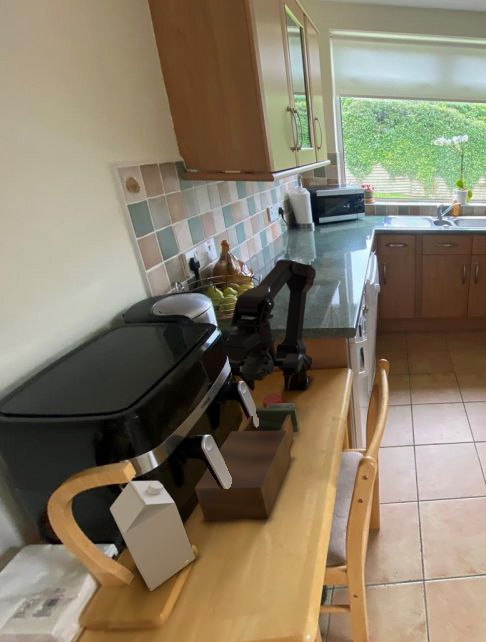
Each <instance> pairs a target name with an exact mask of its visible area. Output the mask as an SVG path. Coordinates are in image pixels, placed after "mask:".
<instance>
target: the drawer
mask: <svg viewBox="0 0 486 642" xmlns="http://www.w3.org/2000/svg"><path fill="white" fill-rule="evenodd" d="M255 408H256V414H257V417H258V418H259V426H258V427H257V428H256V427H254V426H253V425H252V423H253V416H251V417H249V416H248V418H247V419H246V421H245V422H244V424H243V426H242V428H241V429H240V431H286V432H287V438H288V443H289V447H290V446H291V444H292V441H293V439H294V436H295V434H294V433H296V434H297V433H299V432H300V429H301V428H300V423H299V416H298V410H297V407H295V403H294V402H287V403H286V402H285V403H283V402H282V403H268V404H267V406H266V408H263V407H255Z"/></svg>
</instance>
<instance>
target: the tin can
mask: <svg viewBox="0 0 486 642" xmlns="http://www.w3.org/2000/svg"><path fill="white" fill-rule="evenodd" d="M261 403H262V408H266V406H267V404H268V403H283V397H282V394H281V393H278V392H272V393H268V394H266V395H264V396H263V398H262V399H261Z"/></svg>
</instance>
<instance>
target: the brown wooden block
mask: <svg viewBox="0 0 486 642" xmlns="http://www.w3.org/2000/svg"><path fill="white" fill-rule="evenodd" d="M219 450H220V452H221V454H222V456H223V458H224V461H225V464H226V466H227V468H228V471H229V473H230V475H231V477H232V484H231V487H230V488H229V489H221V488H220V487H219V486H218V484H217V482H216V480H215V479H214V477H213V476H212V474H211V473H210V471H209V469H208V467H207V468H206V470H205V471H204V473H203V474H202V476H201V478H200V479H199V481H198V482H197V484H196V486H195V487H194V490H195V494H196V498H197V500H198V503H199V506H200V510H201V512H202V515H203V518H204V521H237V520H239V521H241V520H242V521H243V520H268V519H269V518H270V516H271V512H272V510H273V507H274V504H275V503H276V500H277V497H278V495H279V493H280V490H281V487H282V485H283V482H284V479H285V478H286V474H287V473H288V470H289V467H290V464H291V462H292V456H291V449H290V446H289V443H288V438H287V432H286V431H241V430H236V431H234V430H233V431H232V430H231V431H230V432H229V434H228V436H227V437H226V439H225V440H224V442H223V444H222V445H221V446H220V448H219Z"/></svg>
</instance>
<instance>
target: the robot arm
mask: <svg viewBox="0 0 486 642" xmlns="http://www.w3.org/2000/svg"><path fill="white" fill-rule="evenodd" d="M316 275H317V271H316V269H315V268H314V267H313V265H312V264H311V263H302V262H299V261H296V260H294V259H284V258H281V259H278V260H277V261H276V263H275V265H274V266H273V268H272V269H271V270H270V271H269V273H268V274H266V276H265V277H264V278H263V279H262V280H261V281H260V282H259V284H258V285H256V286H254V287H251V288H248V289H246V290H245V291H243V292H242V293H240V295H239V296H238V297H237V299H236V300H235V304H234V308H233V313H232V318H231V323H230V326H231V327H236V328H235V329H234V330H233V331H231V332H229V333H227V339H226V340H225V341H224V342H223V345H222V352H223V353H224V355H225V356H226V357H227V358H229V359H228V360H229V364H230V366H231V373H232V375H231V376H232V377H239V378H241V380H243V382H244V383H245V384H246V385H247V387H248V388H249V389H250V391H252V392H253V391H254V390H255V389H256V388H255V385H256V384H255V381H263V380H264V379H266V377H267V376H268V375H272V374H273V372H274V369H275V367H278V369H279V370H280V371H282V376H283V379H284V382H283V383H284V389H285V391H289V390H306V389H307V388H308V386H309V383H310V381H311V379H312V376H311V375H308V373H307V371H309V370H311V369H312V364H313V357H311V356H310V355H308V354H307V346H306V345H305V343H304V341H303V332H304V331H303V330H304V321H305V312H306V304H307V294H308V292H309V291H310V290H311V289H312V287H313V286H314V281H315V279H316ZM285 285H286V286H287V288H288V291H289V297H288V306H287V314H286V315H287V316H286V323H285V333H284V339H283V340H282V341H281V342H280V343H278V344H277V345H276V349H275V343H276V339H275V337H273V332H272V325H271V321H270V320H271V319H273V318H274V314H273V313H272V311H273V309H274V307H275V300H274V299H275V298H276V296H277V295H278V294H279V292H280V291H282V290H281V289H282V288H283V287H284V286H285ZM242 317H243V318H242ZM244 317H246V318H244Z"/></svg>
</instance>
